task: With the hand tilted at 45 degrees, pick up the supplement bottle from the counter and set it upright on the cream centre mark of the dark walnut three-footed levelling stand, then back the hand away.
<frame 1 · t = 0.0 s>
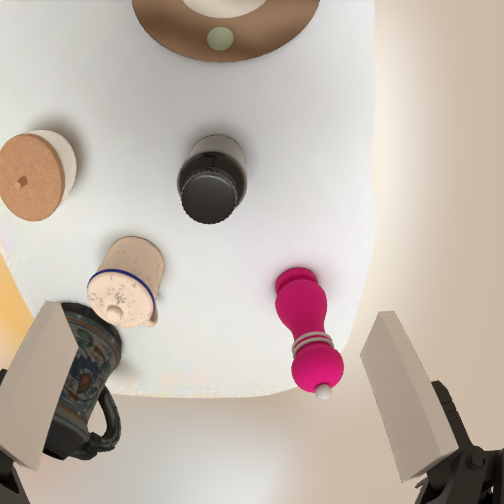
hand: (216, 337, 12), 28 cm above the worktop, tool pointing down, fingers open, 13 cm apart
beer stein: (91, 335, 51), on the worktop
teacup with lid: (141, 268, 44), on the worktop
lidded jar: (56, 160, 34), on the worktop
supplement bottle: (216, 161, 36), on the worktop
pepper mill: (295, 283, 46), on the worktop
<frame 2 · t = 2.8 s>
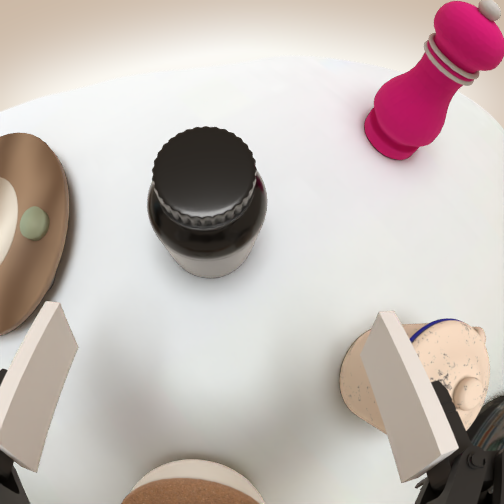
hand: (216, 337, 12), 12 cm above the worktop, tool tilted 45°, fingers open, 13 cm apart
levelling stand: (0, 235, 23), on the worktop
beer stein: (489, 443, 22), on the worktop
teacup with lid: (394, 364, 24), on the worktop
lidded jar: (201, 490, 20), on the worktop
supplement bottle: (211, 238, 25), on the worktop
pepper mill: (388, 136, 29), on the worktop
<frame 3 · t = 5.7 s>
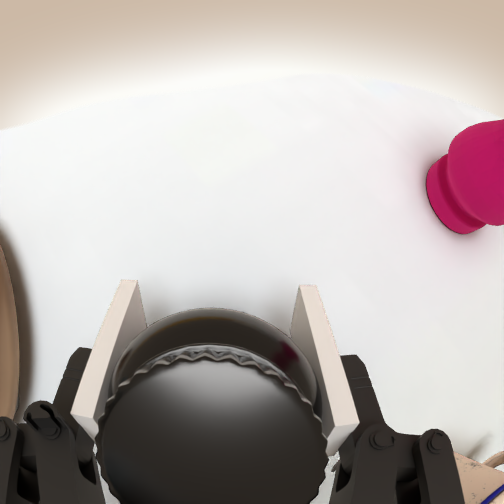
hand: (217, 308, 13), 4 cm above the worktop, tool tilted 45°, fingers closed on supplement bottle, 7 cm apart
teacup with lid: (432, 484, 15), on the worktop
supplement bottle: (218, 373, 17), on the worktop, touching gripper
pepper mill: (453, 197, 21), on the worktop
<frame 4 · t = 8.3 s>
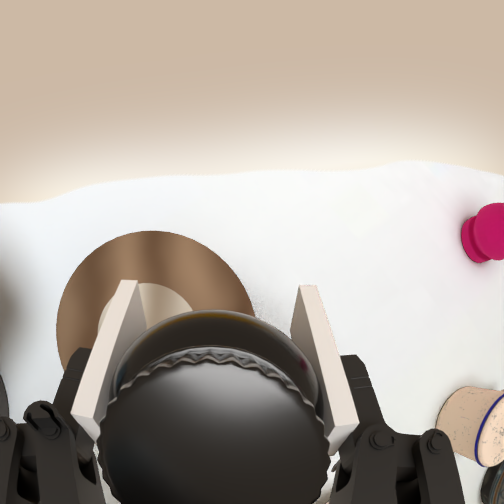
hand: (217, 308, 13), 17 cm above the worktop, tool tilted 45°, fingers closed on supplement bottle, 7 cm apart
levelling stand: (155, 336, 29), on the worktop
teacup with lid: (465, 411, 29), on the worktop
supplement bottle: (219, 373, 17), point 13 cm above the worktop, touching gripper
pepper mill: (474, 241, 34), on the worktop
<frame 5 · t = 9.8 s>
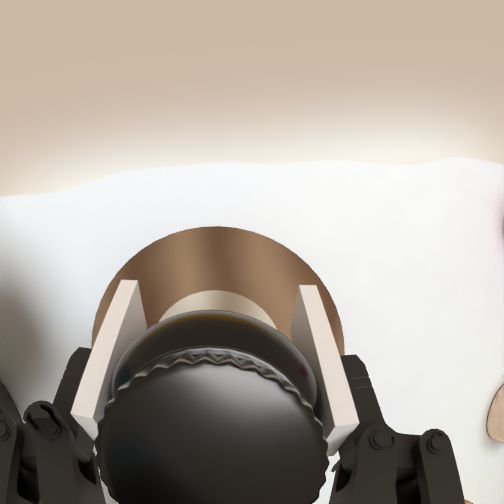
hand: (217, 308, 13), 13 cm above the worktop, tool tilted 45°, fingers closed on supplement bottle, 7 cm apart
levelling stand: (217, 352, 25), on the worktop
supplement bottle: (218, 374, 16), point 9 cm above the worktop, touching gripper
when the fingers open (9 cm above the worktop, at t = 11.1 s): supplement bottle drops 1 cm, resting on levelling stand.
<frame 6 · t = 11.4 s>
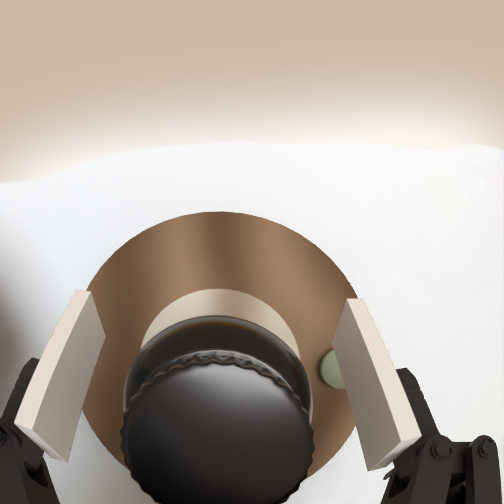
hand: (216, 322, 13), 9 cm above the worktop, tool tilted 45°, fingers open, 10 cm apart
levelling stand: (220, 363, 21), on the worktop
supplement bottle: (219, 371, 18), point 3 cm above the worktop, touching levelling stand
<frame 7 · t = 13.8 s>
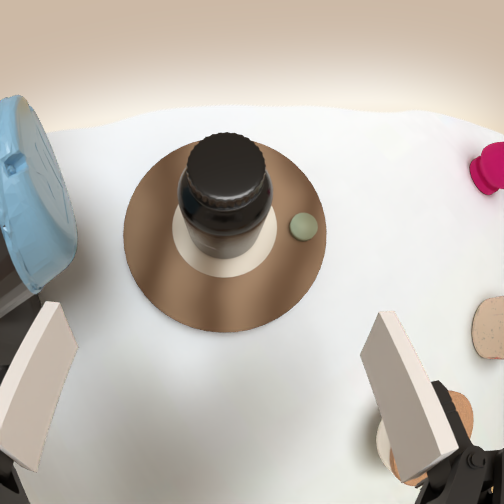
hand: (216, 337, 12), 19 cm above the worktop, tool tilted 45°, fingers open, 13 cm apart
levelling stand: (224, 234, 33), on the worktop
teacup with lid: (493, 323, 33), on the worktop
lidded jar: (400, 423, 29), on the worktop
supplement bottle: (224, 226, 29), point 3 cm above the worktop, touching levelling stand
pepper mill: (481, 177, 38), on the worktop
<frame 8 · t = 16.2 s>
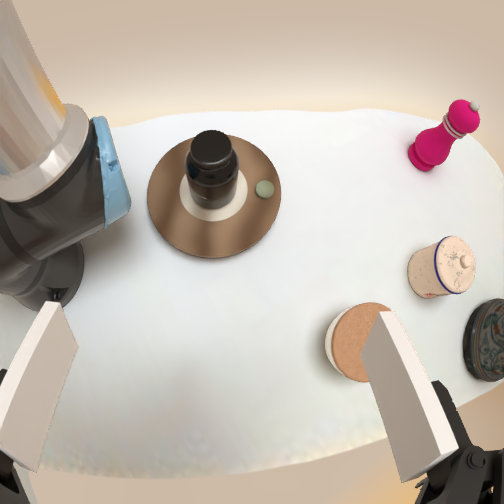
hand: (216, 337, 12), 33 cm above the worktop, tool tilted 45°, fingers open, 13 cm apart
levelling stand: (214, 197, 48), on the worktop
beer stein: (487, 333, 47), on the worktop
teacup with lid: (430, 270, 49), on the worktop
lidded jar: (348, 340, 45), on the worktop
supplement bottle: (213, 190, 45), point 3 cm above the worktop, touching levelling stand
pepper mill: (419, 158, 54), on the worktop
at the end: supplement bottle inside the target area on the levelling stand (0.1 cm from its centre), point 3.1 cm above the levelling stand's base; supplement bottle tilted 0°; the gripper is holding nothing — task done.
